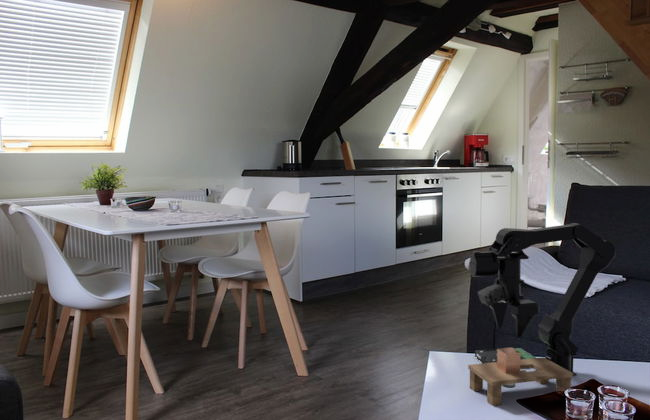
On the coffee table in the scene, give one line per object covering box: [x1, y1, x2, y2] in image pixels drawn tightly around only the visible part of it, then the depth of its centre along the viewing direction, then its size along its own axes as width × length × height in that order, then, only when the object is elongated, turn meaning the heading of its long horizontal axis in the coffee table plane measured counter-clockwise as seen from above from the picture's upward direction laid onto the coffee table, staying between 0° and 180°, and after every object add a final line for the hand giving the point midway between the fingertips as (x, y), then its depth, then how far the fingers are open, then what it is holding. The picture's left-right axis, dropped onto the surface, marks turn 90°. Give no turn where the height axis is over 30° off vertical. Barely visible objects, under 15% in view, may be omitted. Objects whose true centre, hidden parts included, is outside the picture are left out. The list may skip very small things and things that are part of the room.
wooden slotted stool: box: [467, 357, 574, 406], centre depth 148 cm, size 22×12×6 cm, turn 103°
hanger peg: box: [497, 347, 521, 389], centre depth 147 cm, size 4×4×9 cm
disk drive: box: [474, 347, 537, 364], centre depth 170 cm, size 10×3×15 cm
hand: (508, 332), depth 159 cm, fingers open, 9 cm apart
